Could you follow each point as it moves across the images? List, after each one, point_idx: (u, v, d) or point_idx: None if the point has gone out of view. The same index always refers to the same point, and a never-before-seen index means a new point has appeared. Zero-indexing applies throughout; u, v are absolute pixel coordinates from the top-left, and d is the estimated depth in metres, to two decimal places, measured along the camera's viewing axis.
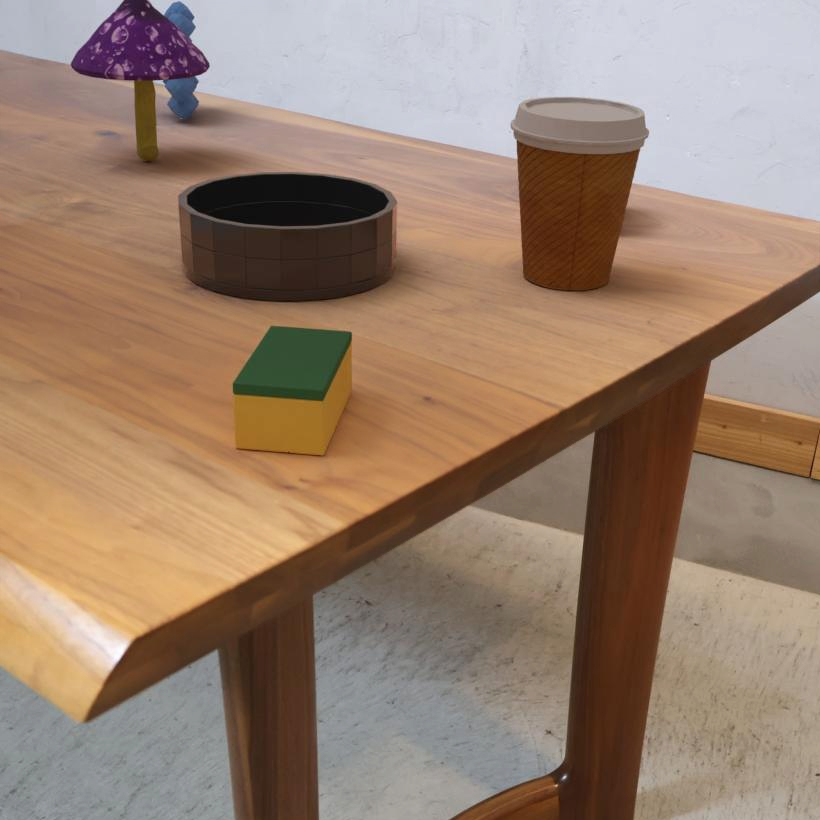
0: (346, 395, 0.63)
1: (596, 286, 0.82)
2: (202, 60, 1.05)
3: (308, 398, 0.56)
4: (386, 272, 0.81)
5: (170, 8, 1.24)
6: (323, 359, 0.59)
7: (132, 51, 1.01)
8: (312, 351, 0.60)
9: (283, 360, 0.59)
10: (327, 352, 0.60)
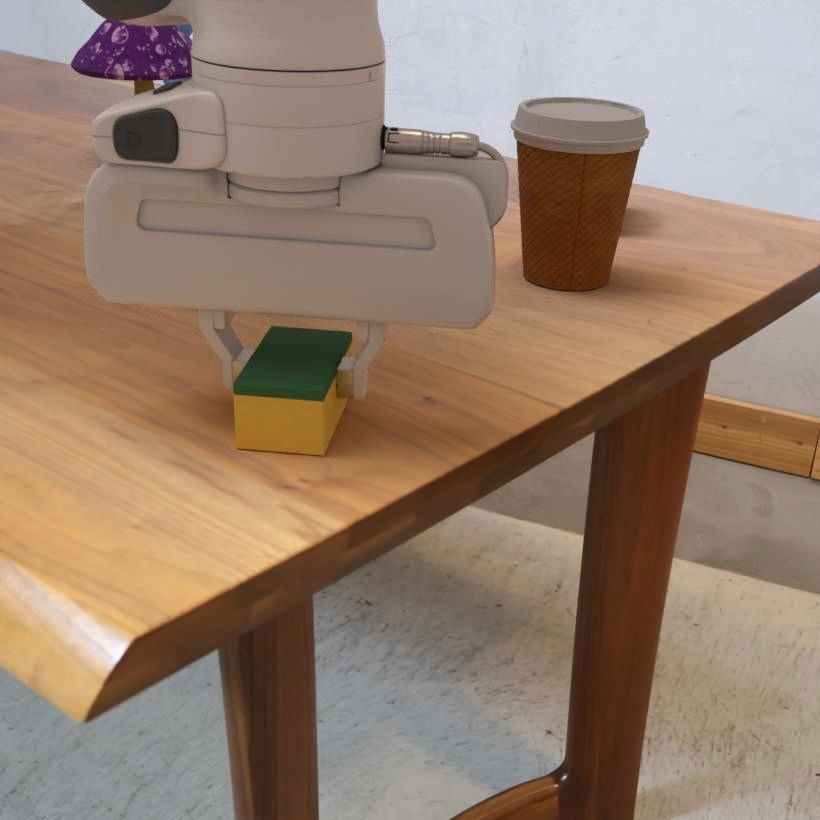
0: None
1: (596, 286, 0.82)
2: None
3: (309, 399, 0.56)
4: None
5: None
6: (323, 359, 0.59)
7: (132, 51, 1.01)
8: (312, 351, 0.60)
9: (283, 360, 0.59)
10: (327, 352, 0.60)
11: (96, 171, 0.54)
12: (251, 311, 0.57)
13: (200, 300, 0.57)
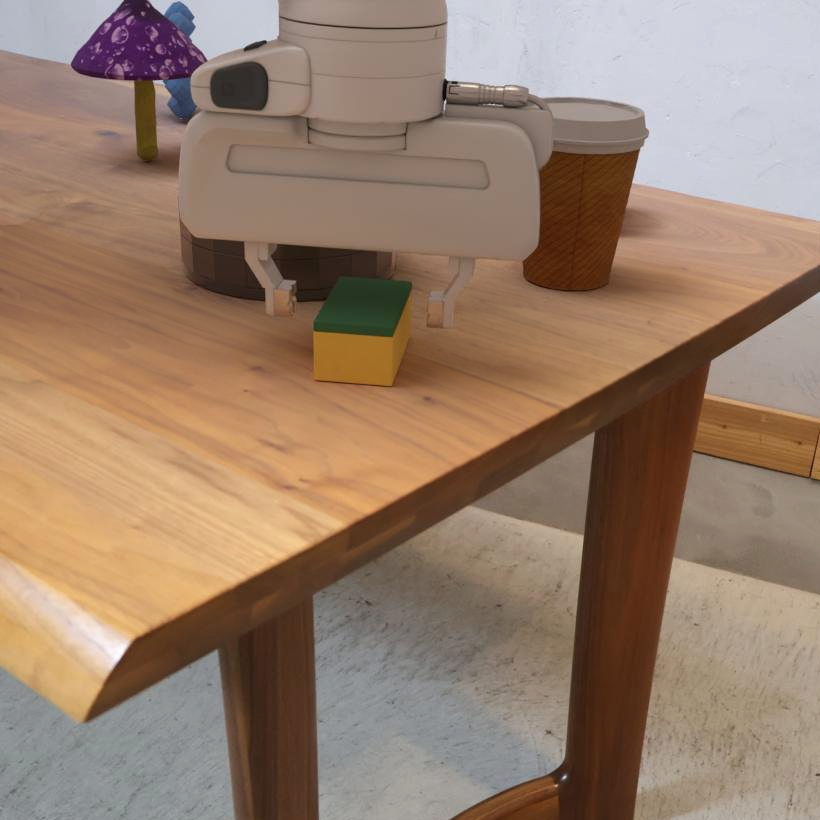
0: (407, 338, 0.70)
1: (596, 286, 0.82)
2: (202, 60, 1.05)
3: (379, 335, 0.64)
4: (386, 272, 0.81)
5: (170, 8, 1.24)
6: (390, 303, 0.67)
7: (132, 51, 1.01)
8: (379, 296, 0.68)
9: (355, 303, 0.67)
10: (392, 297, 0.68)
11: (192, 119, 0.61)
12: (325, 245, 0.64)
13: (280, 235, 0.64)
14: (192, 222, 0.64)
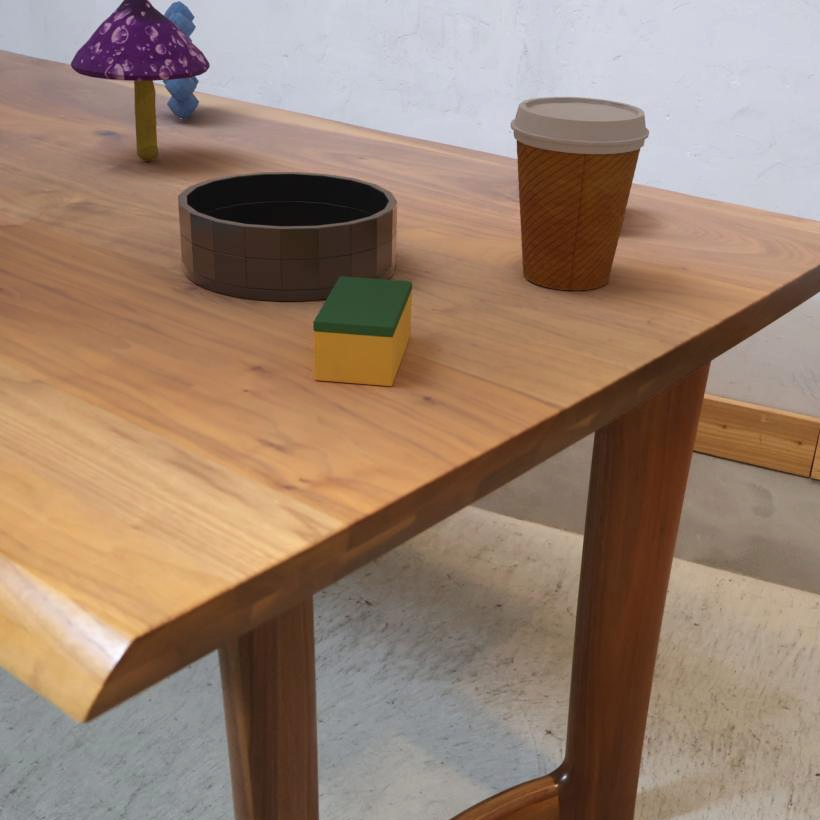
0: (407, 338, 0.70)
1: (596, 286, 0.82)
2: (202, 60, 1.05)
3: (379, 335, 0.64)
4: (386, 272, 0.81)
5: (170, 8, 1.24)
6: (390, 303, 0.67)
7: (132, 51, 1.01)
8: (379, 296, 0.68)
9: (355, 303, 0.67)
10: (392, 297, 0.68)
11: None
12: None
13: None
14: None
